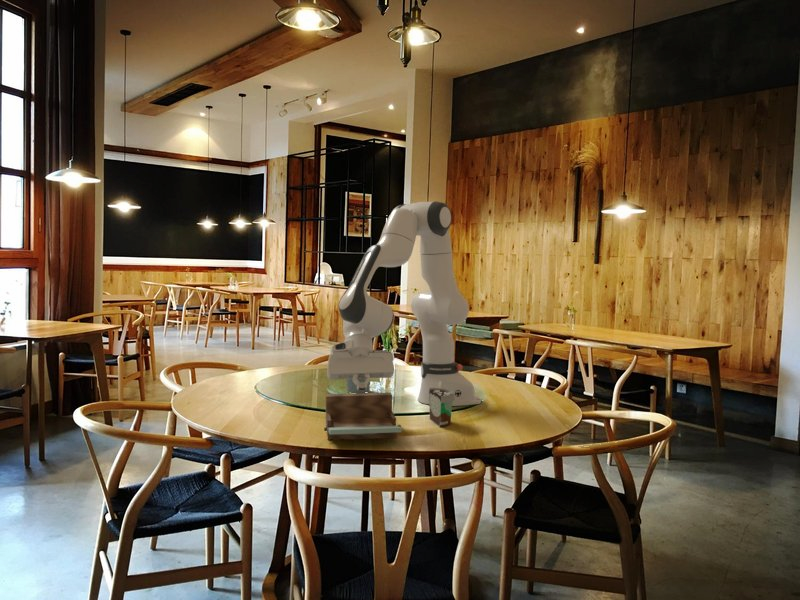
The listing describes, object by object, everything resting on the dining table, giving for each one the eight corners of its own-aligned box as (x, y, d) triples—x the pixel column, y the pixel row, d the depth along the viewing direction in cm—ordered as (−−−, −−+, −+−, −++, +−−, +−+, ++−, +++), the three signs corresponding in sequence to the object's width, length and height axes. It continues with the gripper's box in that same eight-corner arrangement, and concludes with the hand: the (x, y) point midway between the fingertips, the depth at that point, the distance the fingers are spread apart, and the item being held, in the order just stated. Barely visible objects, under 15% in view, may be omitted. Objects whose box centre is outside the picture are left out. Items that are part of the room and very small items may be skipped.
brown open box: (393, 424, 204) (393, 392, 203) (400, 438, 189) (401, 404, 188) (322, 426, 200) (322, 394, 199) (324, 440, 186) (324, 406, 185)
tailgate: (396, 425, 189) (401, 427, 180) (396, 431, 189) (401, 433, 180) (328, 427, 186) (330, 430, 177) (328, 433, 186) (330, 436, 177)
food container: (460, 427, 201) (460, 395, 200) (441, 428, 199) (441, 396, 198) (446, 417, 213) (446, 386, 212) (428, 418, 211) (428, 387, 210)
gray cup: (373, 389, 251) (373, 358, 250) (369, 395, 241) (369, 363, 240) (347, 388, 252) (347, 357, 251) (342, 394, 242) (342, 362, 241)
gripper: (391, 355, 207) (395, 393, 198) (325, 357, 203) (327, 395, 195) (393, 344, 202) (398, 382, 193) (326, 345, 199) (328, 384, 190)
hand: (362, 389), depth 194 cm, fingers closed
